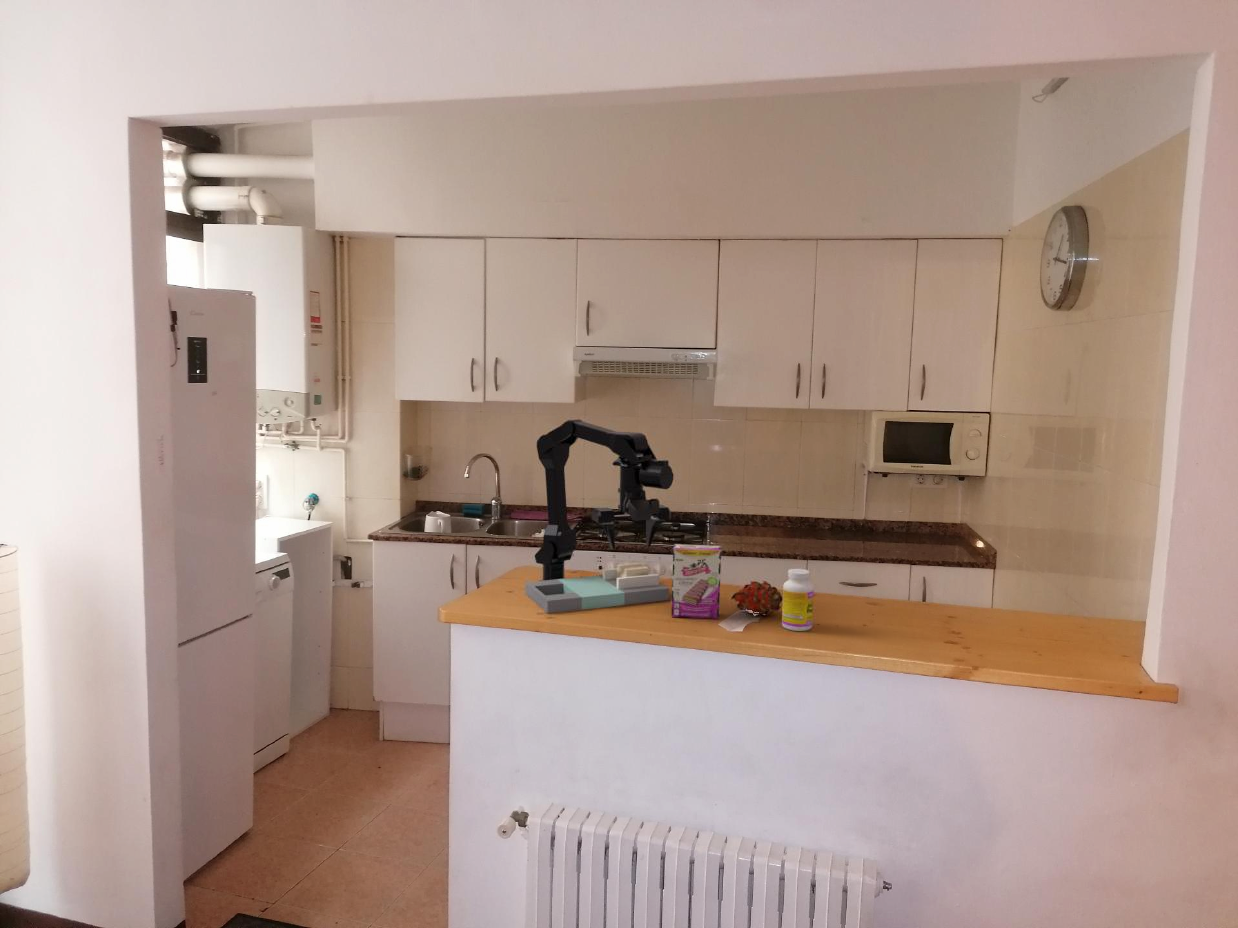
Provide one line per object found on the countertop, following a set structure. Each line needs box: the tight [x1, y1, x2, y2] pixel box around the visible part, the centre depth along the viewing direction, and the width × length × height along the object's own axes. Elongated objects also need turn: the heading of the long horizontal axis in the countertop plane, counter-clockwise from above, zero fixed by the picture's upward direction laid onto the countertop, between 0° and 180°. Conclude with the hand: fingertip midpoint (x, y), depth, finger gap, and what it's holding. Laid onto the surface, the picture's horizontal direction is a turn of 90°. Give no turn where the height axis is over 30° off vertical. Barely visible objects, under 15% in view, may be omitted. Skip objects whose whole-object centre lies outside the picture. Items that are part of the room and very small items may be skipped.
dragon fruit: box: [730, 580, 783, 616], centre depth 203 cm, size 8×8×12 cm
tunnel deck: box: [524, 567, 670, 614], centre depth 216 cm, size 18×32×6 cm, turn 113°
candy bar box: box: [670, 543, 722, 620], centre depth 201 cm, size 11×5×16 cm, turn 84°
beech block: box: [616, 562, 649, 578], centre depth 220 cm, size 6×6×4 cm
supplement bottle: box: [781, 568, 815, 632], centre depth 193 cm, size 7×7×13 cm
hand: (630, 548), depth 211 cm, fingers open, 9 cm apart
